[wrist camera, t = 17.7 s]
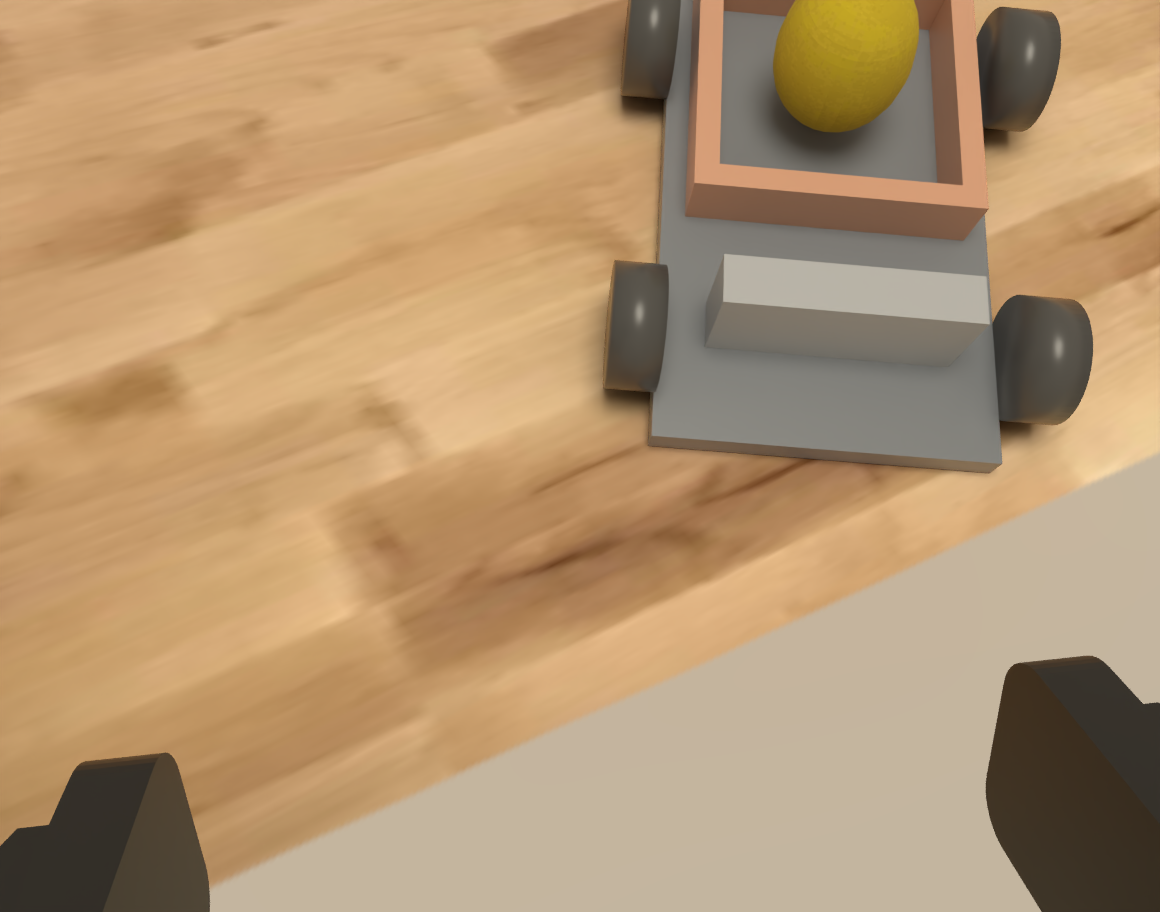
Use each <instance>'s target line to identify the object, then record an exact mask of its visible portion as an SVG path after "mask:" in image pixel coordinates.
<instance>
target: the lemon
mask: <svg viewBox="0 0 1160 912" xmlns="http://www.w3.org/2000/svg"><path fill="white" fill-rule="evenodd" d="M918 40H919V19H918V11H917V8H916V5H915V2H914V0H795V2H794V3H793V5H792V7H791V8H790V10H789V12H788V14H787V16H786V18H785V20H784V22H783V24H782V26H781V28H780V31H779V33H778V37H777V40H776V46H775V52H774V58H773V74H774V81H775V87H776V90H777V93H778V95H779V97H780V99H781V101H782V103H783V105H784V106H785V108H786V109H787V110H788V111H789V113H790V114H791V115H792V116H793V117H794V118H795V119H797V120H798V121H799V122H801V123H802V124H803V125H806V126H808V127H810V128H812V129H814V130H819V131H823V132H845V131H850V130H854V129H857V128H859V127H861V126H863V125H865V124H868V123H869V122H871V121H873V120H874V119H875V118H876V117H878V116H879V115H880V114H881V113H882V112H884V111H885V110H886V109H887V108H888V107H889V106H890V105H891V104H892V102H893V101H894V100H895V98H896V97H897V95H898V94H899V92H900V91H901V89H902V88H903V86H904V85H905V83H906V81H907V79H908V77H909V74H910V72H911V69H912V66H913V62H914V58H915V55H916V51H917V46H918Z"/></svg>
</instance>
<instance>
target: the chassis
mask: <svg viewBox="0 0 1160 912" xmlns="http://www.w3.org/2000/svg"><path fill="white" fill-rule="evenodd" d="M794 2H795V0H628V8H627V17H626V27H625V38H624V49H623V61H622V76H621V95H622V96H633V97H644V98H655V99H664V108H663V130H662V152H661V173H660V195H659V217H658V238H657V260H656V264H653V263H642V262H630V261H618V260H615V261H614V264H613V270H612V276H611V283H610V292H609V301H608V311H607V322H606V334H605V347H604V365H603V387H604V388H605V389H617V390H629V391H641V392H650V412H649V433H648V446H657V447H670V448H682V449H695V450H707V451H720V452H732V453H745V454H757V455H770V456H782V457H795V458H807V459H820V460H832V461H845V462H857V463H870V464H882V465H895V466H907V467H920V468H932V469H945V470H957V471H970V472H982V473H990V472H991V471H993V470H994V469H996V468H997V467H999V466H1000V465H1001V464H1002V453H1001V439H1000V425H999V420H1001V421H1009V422H1021V423H1033V424H1045V425H1058V424H1061V423H1062V422H1064V421H1066V420H1067V419H1068V418H1069V417H1070V416H1071V415H1072V414H1073V413H1074V411H1075V410H1076V408H1077V407H1078V405H1079V403H1080V401H1081V399H1082V397H1083V395H1084V392H1085V390H1086V387H1087V383H1088V380H1089V376H1090V371H1091V365H1092V356H1093V337H1092V330H1091V325H1090V321H1089V318H1088V315H1087V313H1086V311H1085V309H1084V308H1083V307H1082V305H1081V304H1079V303H1078V302H1077V301H1075V300H1071V299H1062V298H1050V297H1038V296H1027V295H1016V296H1013V297H1011V298H1010V299H1008V300H1007V301H1006V302H1005V303H1004V305H1003V306H1002V307H1001V309H1000V310H999V312H998V313H997V315H996V317H995V319H994V322H993V324H992V313H991V299H990V284H989V270H988V256H987V242H986V228H985V213H986V212H987V210H988V209H989V206H988V192H987V179H986V165H985V151H984V138H983V128H985V129H996V130H1007V131H1018V132H1021V131H1025V130H1027V129H1028V128H1030V127H1031V126H1032V125H1033V124H1034V123H1035V122H1036V120H1037V119H1038V118H1039V116H1040V115H1041V113H1042V111H1043V109H1044V107H1045V105H1046V103H1047V101H1048V99H1049V96H1050V94H1051V91H1052V88H1053V85H1054V82H1055V79H1056V74H1057V70H1058V65H1059V59H1060V50H1061V34H1060V27H1059V23H1058V20H1057V18H1056V16H1055V15H1054V14H1053V13H1052V12H1049V11H1040V10H1030V9H1019V8H1009V7H999V8H997V9H995V10H994V11H993V12H992V13H991V14H990V15H989V16H988V18H987V19H986V21H985V22H984V24H983V26H982V28H981V30H980V32H979V34H978V36H977V39H976V28H975V14H974V0H914V2H915V5H916V8H917V11H918V19H919V40H918V46H917V51H916V55H915V58H914V62H913V66H912V69H911V72H910V74H909V77H908V79H907V81H906V83H905V85H904V86H903V88H902V89H901V91H900V92H899V94H898V95H897V97H896V98H895V100H894V101H893V102H892V104H891V105H890V106H889V107H888V108H887V109H886V110H885V111H884V112H882V113H881V114H880V115H879V116H878V117H876V118H875V119H874V120H873V121H871V122H869V123H868V124H865V125H863V126H861V127H859V128H857V129H854V130H850V131H845V132H823V131H819V130H814V129H812V128H810V127H808V126H806V125H803V124H802V123H801V122H799V121H798V120H797V119H795V118H794V117H793V116H792V115H791V114H790V113H789V111H788V110H787V109H786V108H785V106H784V105H783V103H782V101H781V99H780V97H779V95H778V93H777V90H776V87H775V81H774V74H773V58H774V52H775V46H776V40H777V37H778V33H779V31H780V28H781V26H782V24H783V22H784V20H785V18H786V16H787V14H788V12H789V10H790V8H791V7H792V5H793V3H794Z"/></svg>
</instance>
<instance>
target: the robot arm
mask: <svg viewBox="0 0 1160 912" xmlns="http://www.w3.org/2000/svg"><path fill="white" fill-rule="evenodd" d="M986 799H987V806H988V810H989V816H990V819H991V822H992V825H993V829H994V831H995V834H996V836H997V838H998V841H999V843H1000V844H1001V846H1002V848H1003V850H1004V851H1005V853H1006V855H1007V856H1008V858H1009V859H1010V861H1011V863H1012V864H1013V866H1014V867H1015V869H1016V871H1017V872H1018V874H1019V876H1020V877H1021V879H1022V880H1023V882H1024V884H1025V885H1026V887H1027V889H1028V890H1029V892H1030V893H1031V895H1032V897H1033V898H1034V900H1035V902H1036V903H1037V905H1038V906H1039V908H1040V910H1041V911H1042V912H1160V703H1149V704H1143V703H1142V702H1141V701H1140V700H1139V699H1138V698H1137V697H1136V696H1135V695H1134V694H1133V693H1132V691H1131V690H1130V689H1129V688H1128V687H1127V686H1126V685H1125V684H1124V683H1123V682H1122V681H1121V679H1120V678H1119V677H1118V676H1117V675H1116V674H1115V673H1114V672H1113V671H1112V670H1111V669H1110V667H1108V666H1107V665H1106V664H1105V663H1104V662H1103V661H1102V660H1100V659H1099V658H1096V657H1093V656H1080V657H1072V658H1071V657H1070V658H1062V659H1052V660H1043V661H1033V662H1024V663H1018V664H1014V665H1013V666H1012V667H1011V668H1010V669H1009V670H1008V672H1007V674H1006V677H1005V681H1004V685H1003V691H1002V696H1001V701H1000V707H999V712H998V718H997V723H996V729H995V734H994V740H993V745H992V750H991V756H990V761H989V766H988V772H987V778H986ZM0 912H210V895H209V881H208V875H207V870H206V865H205V862H204V858H203V855H202V851H201V847H200V844H199V840H198V837H197V833H196V830H195V826H194V822H193V819H192V815H191V812H190V808H189V805H188V801H187V797H186V794H185V790H184V787H183V783H182V780H181V776H180V772H179V769H178V766H177V764H176V762H175V760H174V758H173V757H172V755H170V754H169V753H159V754H150V755H141V756H132V757H122V758H113V759H104V760H95V761H85V762H83V763H81V764H79V765H78V766H77V767H76V769H75V770H74V771H73V773H72V775H71V777H70V779H69V781H68V784H67V786H66V788H65V790H64V793H63V795H62V797H61V799H60V801H59V804H58V806H57V808H56V810H55V813H54V815H53V817H52V819H51V822H50V824H49V825H45V826H36V827H27V828H18V829H17V830H16V831H15V832H14V833H13V834H12V835H11V836H10V837H9V838H8V839H7V840H6V841H5V842H4V843H3V844H2V845H1V846H0Z"/></svg>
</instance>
